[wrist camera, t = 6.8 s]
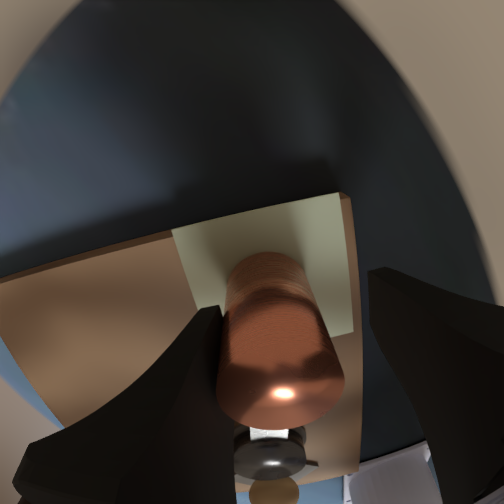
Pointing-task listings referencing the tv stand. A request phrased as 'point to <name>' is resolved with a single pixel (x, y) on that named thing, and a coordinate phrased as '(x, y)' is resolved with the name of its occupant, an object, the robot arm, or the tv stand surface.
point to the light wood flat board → (187, 317)
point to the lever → (274, 364)
